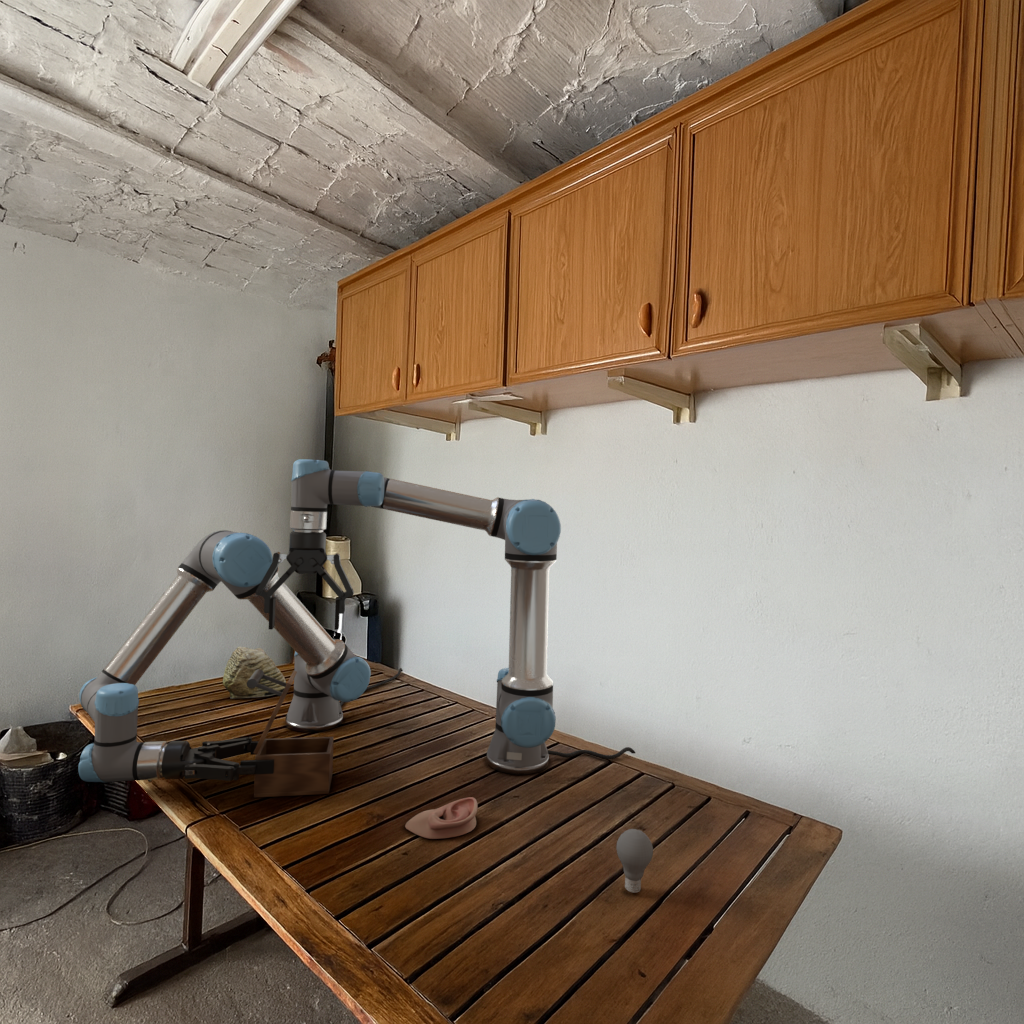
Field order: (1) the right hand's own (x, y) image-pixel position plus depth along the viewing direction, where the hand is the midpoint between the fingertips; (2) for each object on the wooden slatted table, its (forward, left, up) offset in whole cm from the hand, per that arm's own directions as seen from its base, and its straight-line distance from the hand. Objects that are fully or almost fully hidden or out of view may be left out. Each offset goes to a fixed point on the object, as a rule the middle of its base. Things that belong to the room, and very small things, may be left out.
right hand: (304, 628), depth 138 cm
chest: (+1, 0, -34) cm, 35 cm away
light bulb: (-52, +54, -34) cm, 82 cm away
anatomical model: (-26, +25, -34) cm, 50 cm away
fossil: (+12, -68, -34) cm, 77 cm away
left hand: (+4, -1, -28) cm, 28 cm away
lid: (+5, -1, -18) cm, 19 cm away
